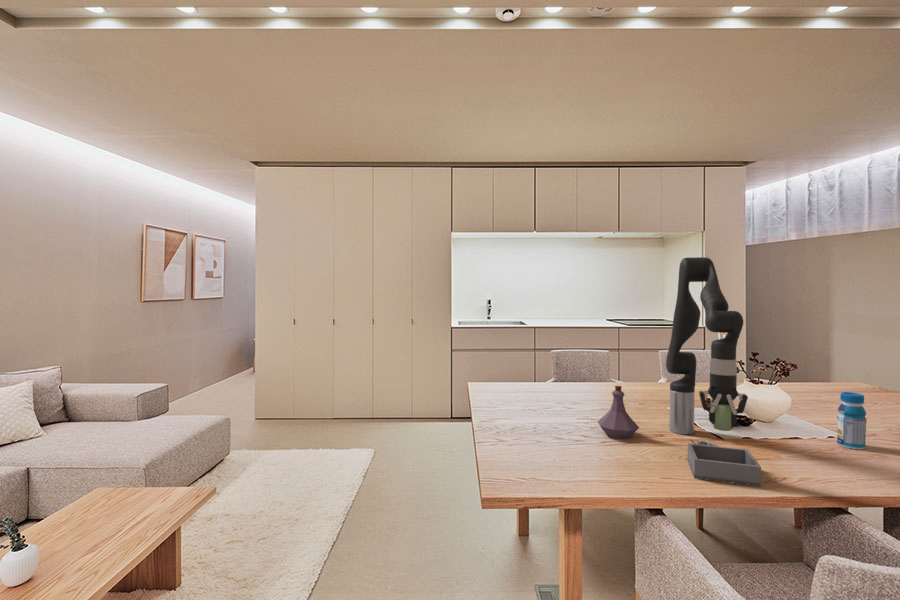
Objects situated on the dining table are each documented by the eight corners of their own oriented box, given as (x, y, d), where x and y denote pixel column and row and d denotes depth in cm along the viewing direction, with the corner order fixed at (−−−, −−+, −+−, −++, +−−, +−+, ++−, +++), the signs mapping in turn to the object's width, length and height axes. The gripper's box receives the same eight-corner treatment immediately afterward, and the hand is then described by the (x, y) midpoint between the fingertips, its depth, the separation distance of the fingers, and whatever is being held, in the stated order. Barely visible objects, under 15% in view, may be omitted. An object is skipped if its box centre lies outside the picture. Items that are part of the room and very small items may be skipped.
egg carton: (687, 449, 174) (687, 438, 174) (705, 448, 175) (705, 437, 175) (707, 459, 163) (707, 447, 163) (726, 458, 164) (726, 446, 164)
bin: (687, 460, 162) (687, 443, 162) (747, 467, 156) (747, 449, 155) (694, 478, 147) (694, 459, 147) (760, 486, 141) (761, 467, 140)
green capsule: (712, 425, 154) (712, 401, 154) (729, 427, 152) (729, 402, 152) (715, 429, 149) (715, 405, 149) (732, 431, 148) (733, 406, 147)
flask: (601, 426, 201) (602, 380, 200) (642, 432, 192) (643, 384, 192) (592, 437, 187) (592, 387, 186) (635, 444, 178) (636, 392, 178)
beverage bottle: (855, 451, 171) (856, 397, 170) (830, 443, 179) (832, 392, 178) (871, 448, 173) (873, 395, 172) (846, 441, 181) (848, 390, 180)
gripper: (745, 371, 151) (744, 423, 152) (696, 369, 156) (695, 419, 157) (751, 375, 144) (750, 430, 145) (700, 372, 149) (699, 425, 150)
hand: (722, 424), depth 151 cm, fingers closed on green capsule, 5 cm apart
